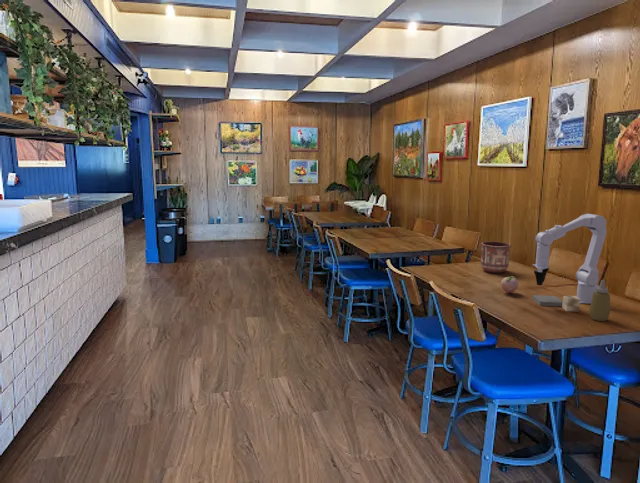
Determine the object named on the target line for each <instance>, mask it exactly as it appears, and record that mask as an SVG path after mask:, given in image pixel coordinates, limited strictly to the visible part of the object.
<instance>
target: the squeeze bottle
mask: <svg viewBox="0 0 640 483" xmlns="http://www.w3.org/2000/svg"><path fill="white" fill-rule="evenodd" d="M598 286H599V287H596V292H594V293H593V296H592V300H591V304H590V305H589V308H588V309H589V310H588V311H589V315H590V318H591V320H594V321H598V322H607V320H608V319H609V316H610V314H611V294H610V293H609V288H607V287H606V282H605V279H602V280H600V284H599V285H598Z"/></svg>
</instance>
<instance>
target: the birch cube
mask: <svg viewBox="0 0 640 483" xmlns="http://www.w3.org/2000/svg"><path fill="white" fill-rule="evenodd" d="M562 301H563V303H562V306H561V308H562V309H563V310H565V311H566V312H580V304H581V303H580V299H579V298H577V295H563V296H562Z"/></svg>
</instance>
